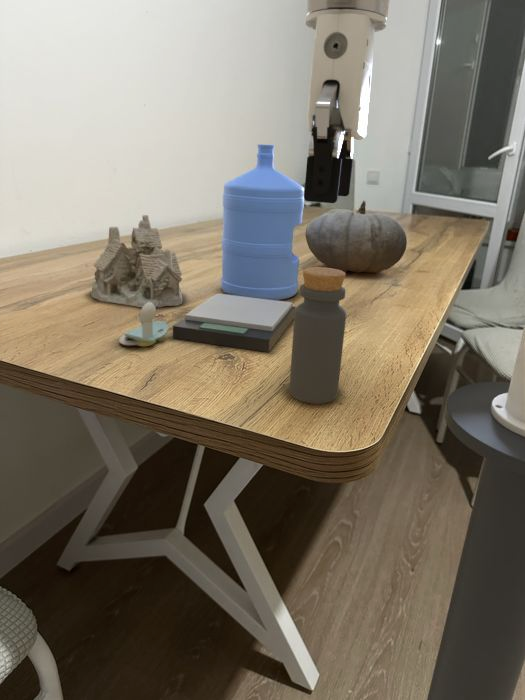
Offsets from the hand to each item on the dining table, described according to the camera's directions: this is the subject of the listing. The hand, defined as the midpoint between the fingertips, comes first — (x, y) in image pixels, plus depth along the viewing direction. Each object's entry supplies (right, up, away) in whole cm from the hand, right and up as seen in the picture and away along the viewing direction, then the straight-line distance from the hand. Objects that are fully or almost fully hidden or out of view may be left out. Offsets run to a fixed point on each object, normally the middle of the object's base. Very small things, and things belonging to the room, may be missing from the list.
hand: (328, 198), depth 54 cm
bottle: (-1, -21, +8) cm, 23 cm away
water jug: (-8, -4, +52) cm, 52 cm away
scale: (-11, -12, +30) cm, 34 cm away
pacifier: (-25, -15, +22) cm, 36 cm away
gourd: (+15, +4, +77) cm, 79 cm away
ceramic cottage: (-31, -6, +44) cm, 54 cm away
